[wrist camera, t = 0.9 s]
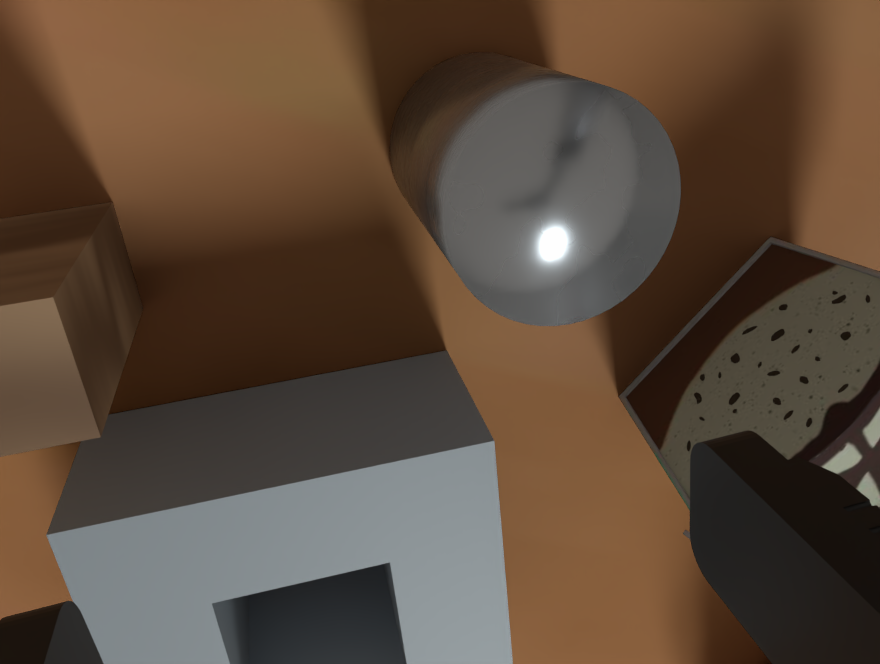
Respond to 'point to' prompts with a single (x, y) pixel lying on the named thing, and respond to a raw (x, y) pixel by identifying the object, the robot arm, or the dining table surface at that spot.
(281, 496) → the socket block
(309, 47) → the dining table surface
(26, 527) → the dining table surface
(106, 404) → the square peg
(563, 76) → the round peg
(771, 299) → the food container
